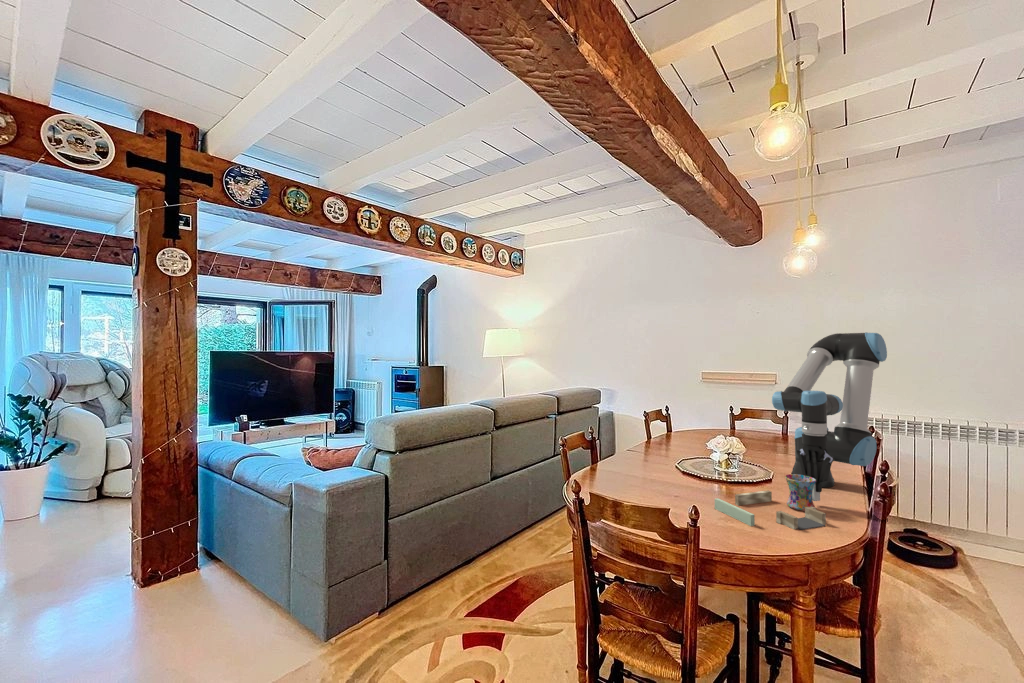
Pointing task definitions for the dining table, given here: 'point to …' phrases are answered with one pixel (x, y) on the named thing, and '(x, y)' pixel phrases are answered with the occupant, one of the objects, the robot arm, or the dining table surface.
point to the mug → (800, 491)
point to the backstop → (735, 512)
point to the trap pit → (808, 524)
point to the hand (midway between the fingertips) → (815, 500)
